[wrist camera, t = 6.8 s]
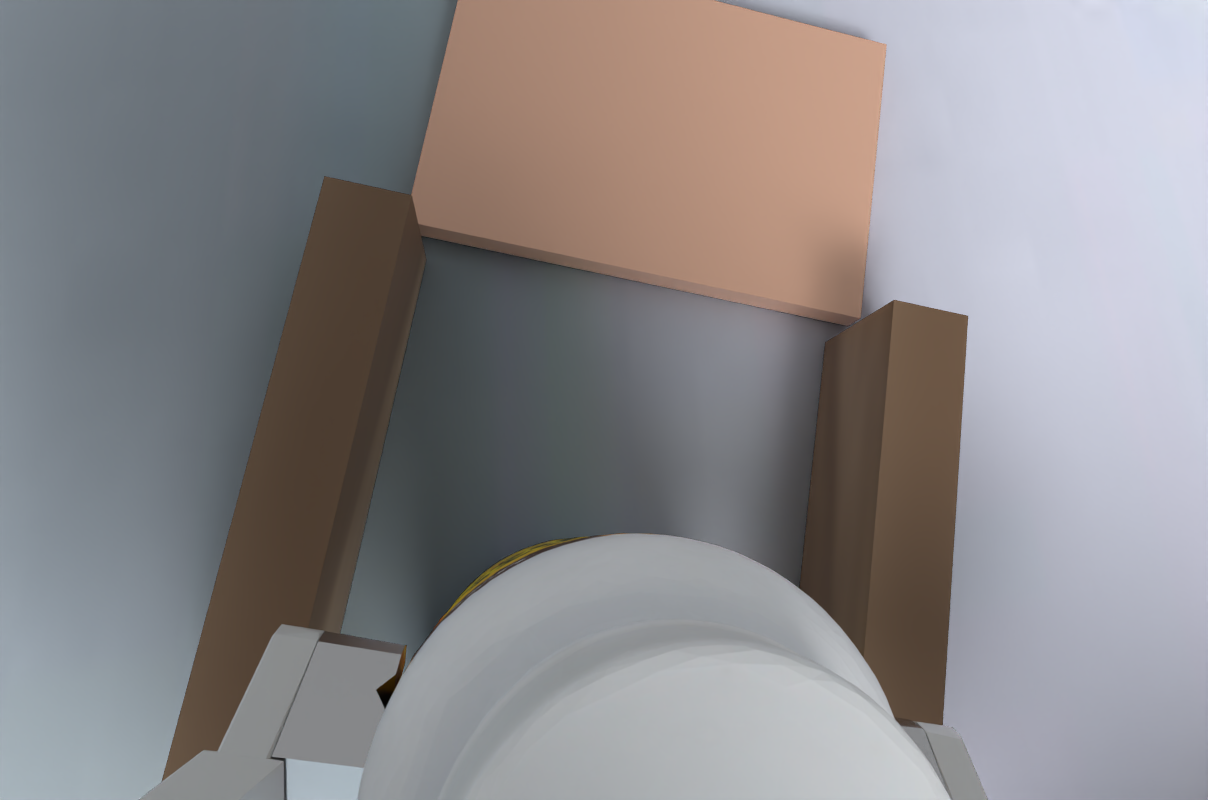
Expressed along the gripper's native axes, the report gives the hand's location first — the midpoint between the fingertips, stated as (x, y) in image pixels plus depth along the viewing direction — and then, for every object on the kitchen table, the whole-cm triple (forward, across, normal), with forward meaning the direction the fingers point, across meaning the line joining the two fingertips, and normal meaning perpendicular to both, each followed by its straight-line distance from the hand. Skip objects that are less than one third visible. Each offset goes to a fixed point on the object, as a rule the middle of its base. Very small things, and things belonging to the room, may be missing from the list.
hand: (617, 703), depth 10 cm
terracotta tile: (+12, 0, -4) cm, 13 cm away
